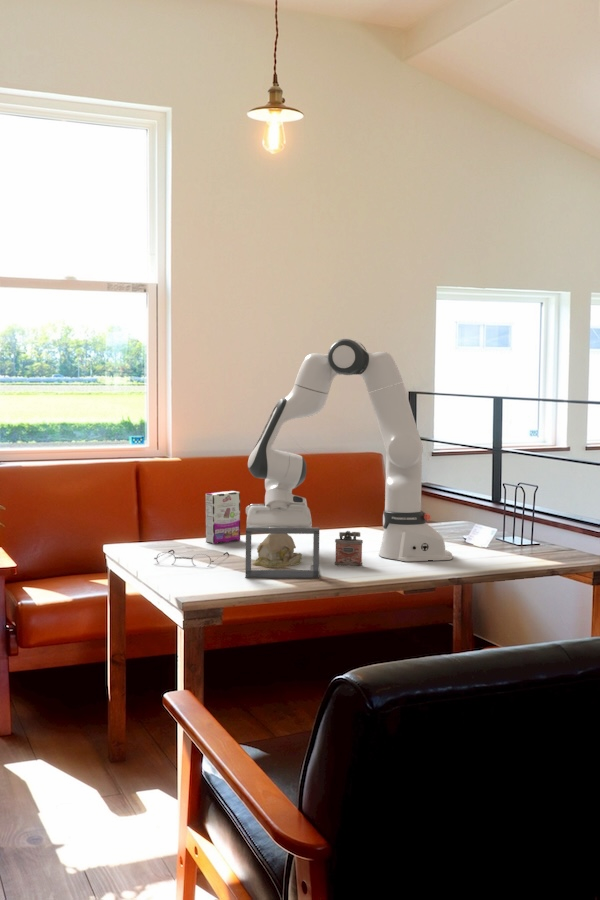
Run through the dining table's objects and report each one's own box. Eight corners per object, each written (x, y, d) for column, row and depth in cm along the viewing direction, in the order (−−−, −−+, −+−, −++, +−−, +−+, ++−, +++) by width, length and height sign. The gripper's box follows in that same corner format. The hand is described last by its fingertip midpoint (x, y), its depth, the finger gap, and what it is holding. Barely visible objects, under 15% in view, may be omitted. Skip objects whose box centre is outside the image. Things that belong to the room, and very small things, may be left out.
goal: (316, 569, 265) (316, 522, 264) (318, 578, 254) (319, 528, 253) (245, 569, 264) (246, 521, 262) (245, 577, 253) (245, 527, 252)
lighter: (334, 565, 271) (334, 531, 270) (335, 563, 274) (335, 529, 273) (361, 566, 270) (362, 532, 269) (362, 564, 273) (363, 530, 272)
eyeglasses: (153, 565, 270) (153, 552, 270) (173, 555, 288) (173, 542, 288) (213, 568, 267) (213, 554, 266) (229, 558, 285) (230, 545, 285)
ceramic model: (269, 569, 265) (270, 535, 264) (246, 563, 273) (246, 529, 272) (307, 563, 274) (307, 530, 273) (283, 557, 282) (283, 525, 281)
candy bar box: (231, 538, 313) (232, 490, 312) (240, 540, 310) (241, 491, 308) (204, 542, 306) (204, 492, 305) (213, 544, 302) (213, 494, 301)
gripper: (245, 498, 289) (245, 534, 280) (311, 498, 290) (312, 534, 281) (245, 510, 294) (245, 546, 285) (310, 510, 295) (311, 546, 286)
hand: (279, 540), depth 283 cm, fingers closed
